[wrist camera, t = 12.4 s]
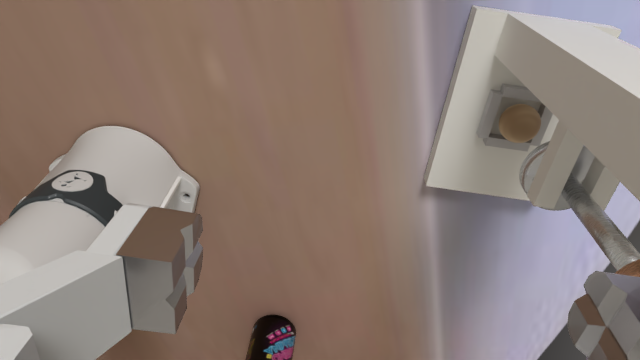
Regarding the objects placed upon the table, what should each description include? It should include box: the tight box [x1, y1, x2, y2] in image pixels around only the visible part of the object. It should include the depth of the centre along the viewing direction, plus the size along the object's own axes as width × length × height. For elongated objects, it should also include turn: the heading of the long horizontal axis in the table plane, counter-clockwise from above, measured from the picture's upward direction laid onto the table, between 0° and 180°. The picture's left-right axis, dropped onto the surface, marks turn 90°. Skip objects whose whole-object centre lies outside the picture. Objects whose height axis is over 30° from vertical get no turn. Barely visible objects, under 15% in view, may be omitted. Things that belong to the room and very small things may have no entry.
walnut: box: [499, 104, 541, 143], centre depth 47 cm, size 4×4×4 cm
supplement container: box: [245, 315, 296, 360], centre depth 66 cm, size 7×7×10 cm
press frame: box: [424, 5, 640, 211], centre depth 37 cm, size 20×14×30 cm
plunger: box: [519, 141, 640, 277], centre depth 31 cm, size 6×6×17 cm
